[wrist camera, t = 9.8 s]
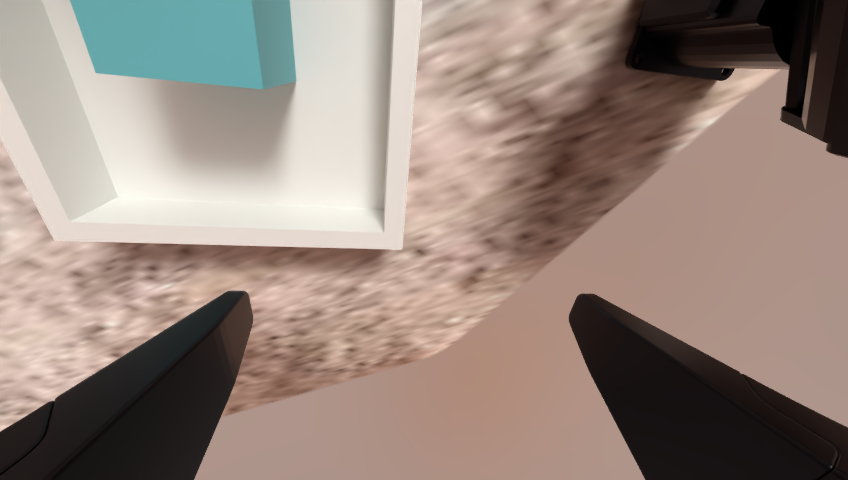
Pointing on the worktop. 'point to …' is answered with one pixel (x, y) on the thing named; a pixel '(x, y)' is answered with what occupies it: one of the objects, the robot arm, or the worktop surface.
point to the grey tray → (217, 135)
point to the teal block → (191, 40)
